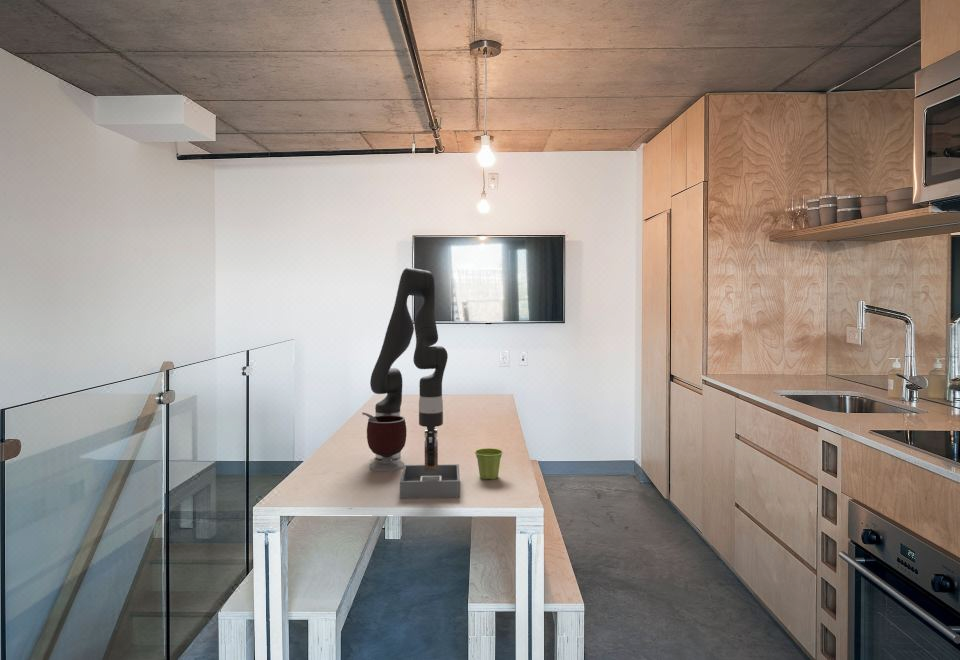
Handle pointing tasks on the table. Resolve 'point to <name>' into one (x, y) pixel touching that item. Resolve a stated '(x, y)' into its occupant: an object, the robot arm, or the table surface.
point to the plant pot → (488, 462)
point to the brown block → (435, 467)
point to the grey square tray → (430, 482)
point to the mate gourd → (386, 440)
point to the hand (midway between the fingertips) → (431, 463)
